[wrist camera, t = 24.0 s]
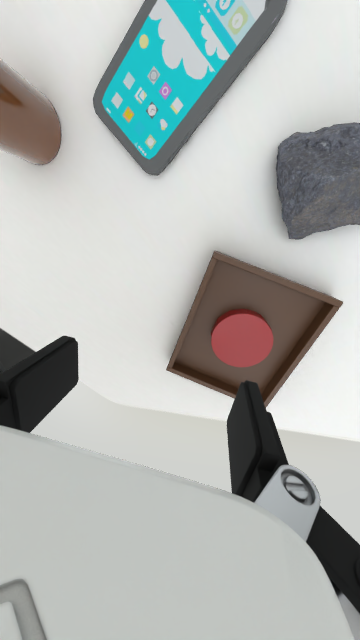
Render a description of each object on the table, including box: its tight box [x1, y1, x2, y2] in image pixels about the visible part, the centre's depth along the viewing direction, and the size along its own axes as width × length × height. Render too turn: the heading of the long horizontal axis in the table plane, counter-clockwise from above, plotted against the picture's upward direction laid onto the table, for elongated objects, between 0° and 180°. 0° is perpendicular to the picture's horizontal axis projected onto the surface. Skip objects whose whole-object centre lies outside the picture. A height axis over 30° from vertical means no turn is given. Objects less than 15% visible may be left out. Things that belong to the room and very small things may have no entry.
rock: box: [276, 123, 360, 239], centre depth 15 cm, size 9×6×10 cm
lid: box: [211, 309, 274, 367], centre depth 23 cm, size 7×7×2 cm
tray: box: [166, 251, 343, 408], centre depth 23 cm, size 15×13×2 cm
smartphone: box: [93, 0, 287, 175], centre depth 16 cm, size 9×1×15 cm
